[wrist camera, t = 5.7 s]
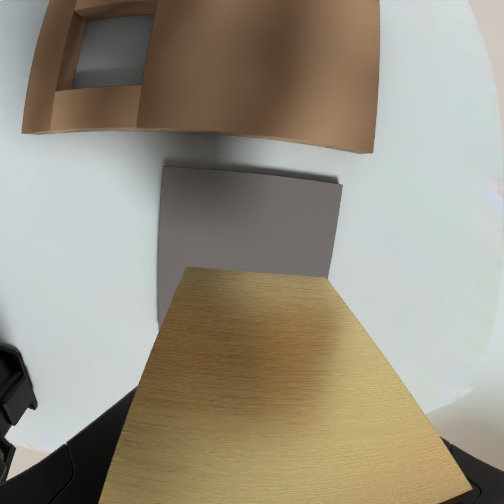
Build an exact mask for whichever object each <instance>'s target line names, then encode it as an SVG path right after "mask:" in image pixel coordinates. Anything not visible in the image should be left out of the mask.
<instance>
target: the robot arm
mask: <svg viewBox="0 0 504 504" xmlns="http://www.w3.org/2000/svg"><path fill="white" fill-rule="evenodd" d="M137 387H138V386H137ZM137 387H135V388H134V389H133V390H132V391H131V392H129V393H128V394H127V395H126V396H124V397H123V398H122V399H121V400H119V401H118V402H117V403H116V404H114V405H113V406H112V407H111V408H109V409H108V410H107V411H106V412H104V413H103V414H102V415H101V416H99V417H98V418H97V419H96V420H94V421H93V422H92V423H90V424H89V425H88V426H87V427H85V428H84V429H83V430H82V431H80V432H79V433H78V434H76V435H75V436H74V437H73V438H71V439H70V440H69V441H67V443H66V444H67V445H66V444H63V445H62V446H61V447H59V448H58V449H57V450H55V451H54V452H53V453H51V454H50V455H49V456H47V457H46V458H45V459H43V460H41V461H40V462H39V463H37V464H35V465H34V466H32V467H30V468H29V469H27V470H25V471H24V472H22V473H20V474H18V475H17V476H15V477H13V478H11V479H9V480H7V481H6V479H7V476H8V472H9V469H10V465H11V462H12V459H13V456H14V453H15V450H16V448H15V447H14V446H13V445H12V444H10V443H9V442H8V441H7V440H6V438H5V435H6V434H7V432H8V430H9V429H10V427H11V426H12V425H13V426H15V425H16V424H17V423H18V421H19V420H20V418H21V417H22V415H23V414H24V412H25V411H26V409H27V408H30V409H33V410H36V408H37V407H38V405H37V402H36V399H35V397H34V394H33V391H32V388H31V386H30V383H29V380H28V377H27V374H26V371H25V367H24V364H23V361H22V357H21V355H20V354H19V353H18V352H16V351H13V350H10V349H7V348H4V347H1V346H0V504H98V503H99V500H100V497H101V493H102V490H103V487H104V483H105V480H106V477H107V474H108V471H109V468H110V465H111V461H112V458H113V455H114V452H115V449H116V446H117V443H118V440H119V437H120V435H121V432H122V429H123V426H124V423H125V420H126V417H127V415H128V412H129V409H130V406H131V403H132V401H133V398H134V395H135V392H136V390H137ZM440 438H441V440H442V441H443V443H444V444H445V446H446V447H447V449H448V450H449V452H450V453H451V455H452V457H453V458H454V460H455V461H456V463H457V464H458V466H459V468H460V469H461V471H462V472H463V474H464V476H465V477H466V479H467V480H468V482H469V484H470V485H471V487H472V490H471V491H470V492H469V493H468V494H467V495H466V496H465V498H464V499H463V500H462V501H461V502H460V503H459V504H504V471H501V470H499V469H497V468H495V467H493V466H491V465H489V464H486V463H485V462H483V461H481V460H478V459H476V458H475V457H473V456H471V455H470V454H468V453H466V452H464V451H463V450H461V449H459V448H458V447H456V446H454V445H453V444H450V443H449V442H448V441H446V440H445V439H443V438H442V437H440Z"/></svg>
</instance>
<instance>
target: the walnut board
mask: <svg viewBox="0 0 504 504" xmlns="http://www.w3.org/2000/svg"><path fill="white" fill-rule="evenodd" d="M144 14H155V17H154V21H153V26H152V31H151V35H150V40H149V45H148V51H147V56H146V62H145V67H144V73H143V80H142V85H124V86H106V87H93V88H82V89H72V88H73V82H74V76H75V71H76V66H77V61H78V56H79V51H80V47H81V43H82V38H83V34H84V30H85V27H86V23H87V21H92V20H99V19H106V18H113V17H122V16H132V15H144ZM379 59H380V5H379V0H50V2H49V5H48V8H47V11H46V14H45V17H44V21H43V24H42V27H41V31H40V34H39V38H38V42H37V46H36V50H35V54H34V58H33V63H32V67H31V72H30V77H29V82H28V88H27V94H26V100H25V107H24V115H23V123H22V133H23V134H51V133H66V132H87V131H169V132H191V133H207V134H220V135H232V136H243V137H253V138H262V139H270V140H278V141H286V142H293V143H300V144H307V145H313V146H319V147H325V148H331V149H337V150H343V151H348V152H353V153H358V154H364V153H373V148H374V138H375V127H376V115H377V101H378V85H379Z"/></svg>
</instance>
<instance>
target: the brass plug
mask: <svg viewBox="0 0 504 504" xmlns="http://www.w3.org/2000/svg"><path fill="white" fill-rule="evenodd" d="M471 490H472V487H471V485H470V484H469V482H468V480H467V479H466V477H465V476H464V474H463V472H462V471H461V469H460V468H459V466H458V464H457V463H456V461H455V460H454V458H453V457H452V455H451V453H450V452H449V450H448V449H447V447H446V446H445V444H444V443H443V441H442V440H441V438H440V436H439V435H438V434H437V432H436V430H435V429H434V427H433V426H432V424H431V423H430V421H429V420H428V418H427V417H426V415H425V414H424V412H423V411H422V409H421V408H420V407H419V405H418V404H417V402H416V401H415V399H414V398H413V396H412V395H411V393H410V392H409V391H408V389H407V388H406V386H405V385H404V383H403V382H402V380H401V379H400V378H399V376H398V375H397V373H396V372H395V370H394V369H393V368H392V366H391V365H390V363H389V362H388V361H387V359H386V358H385V356H384V355H383V354H382V352H381V351H380V349H379V348H378V347H377V345H376V344H375V343H374V341H373V340H372V338H371V337H370V336H369V334H368V333H367V332H366V330H365V329H364V328H363V326H362V325H361V323H360V322H359V321H358V319H357V318H356V317H355V315H354V314H353V313H352V311H351V310H350V309H349V307H348V306H347V305H346V303H345V302H344V301H343V299H342V298H341V297H340V295H339V294H338V293H337V291H336V290H335V289H334V287H333V286H332V285H331V284H330V282H329V281H328V280H327V278H326V277H311V276H298V275H284V274H271V273H258V272H246V271H233V270H221V269H210V268H198V267H187V266H186V268H185V271H184V273H183V275H182V277H181V280H180V282H179V284H178V287H177V289H176V292H175V294H174V296H173V299H172V301H171V303H170V306H169V308H168V311H167V313H166V315H165V318H164V320H163V323H162V325H161V328H160V330H159V333H158V335H157V338H156V340H155V343H154V345H153V348H152V350H151V353H150V355H149V358H148V361H147V363H146V366H145V368H144V371H143V374H142V376H141V379H140V382H139V384H138V387H137V390H136V392H135V395H134V398H133V401H132V403H131V406H130V409H129V412H128V415H127V417H126V420H125V423H124V426H123V429H122V432H121V435H120V437H119V440H118V443H117V446H116V449H115V452H114V455H113V458H112V461H111V465H110V468H109V471H108V474H107V477H106V480H105V483H104V487H103V490H102V493H101V497H100V500H99V503H98V504H459V503H460V502H461V501H462V500H463V499H464V498H465V496H466V495H467V494H468V493H469V492H470V491H471Z"/></svg>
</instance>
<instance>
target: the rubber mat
mask: <svg viewBox="0 0 504 504" xmlns="http://www.w3.org/2000/svg"><path fill="white" fill-rule="evenodd" d="M342 187H343V185H341V184H335V183H328V182H321V181H314V180H307V179H299V178H291V177H283V176H275V175H266V174H257V173H247V172H236V171H225V170H213V169H200V168H186V167H168V166H163V171H162V184H161V200H160V219H159V247H158V324H159V330H160V328H161V325H162V323H163V320H164V318H165V315H166V313H167V311H168V308H169V306H170V303H171V301H172V299H173V296H174V294H175V292H176V289H177V287H178V284H179V282H180V280H181V277H182V275H183V273H184V271H185V268H186V266H187V267H198V268H210V269H221V270H233V271H246V272H258V273H271V274H284V275H298V276H311V277H326V278H327V279H328V274H329V269H330V263H331V258H332V252H333V246H334V240H335V234H336V228H337V221H338V215H339V208H340V201H341V194H342Z"/></svg>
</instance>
